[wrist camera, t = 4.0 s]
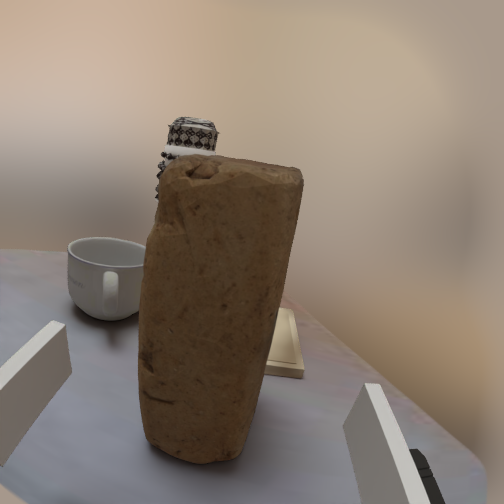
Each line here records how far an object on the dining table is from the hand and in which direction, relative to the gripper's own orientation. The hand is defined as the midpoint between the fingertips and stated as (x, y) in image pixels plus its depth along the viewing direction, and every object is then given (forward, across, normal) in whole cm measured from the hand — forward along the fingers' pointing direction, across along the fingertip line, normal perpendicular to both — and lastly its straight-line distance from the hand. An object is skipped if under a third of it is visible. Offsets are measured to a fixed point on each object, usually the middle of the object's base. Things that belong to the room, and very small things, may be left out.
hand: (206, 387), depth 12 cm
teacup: (+21, -14, -11) cm, 28 cm away
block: (+8, 0, -11) cm, 14 cm away
